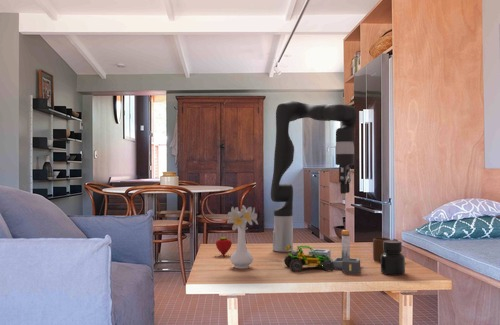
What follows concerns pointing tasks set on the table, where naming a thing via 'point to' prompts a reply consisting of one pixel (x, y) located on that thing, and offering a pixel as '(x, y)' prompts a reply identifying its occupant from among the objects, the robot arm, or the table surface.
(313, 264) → the motor vehicle
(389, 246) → the ink bottle
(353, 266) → the block
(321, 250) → the socket
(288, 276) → the table surface
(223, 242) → the strawberry
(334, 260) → the tray
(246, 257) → the flower vase
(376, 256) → the mug
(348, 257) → the pin
